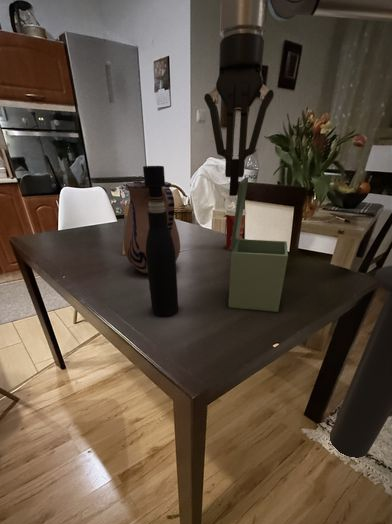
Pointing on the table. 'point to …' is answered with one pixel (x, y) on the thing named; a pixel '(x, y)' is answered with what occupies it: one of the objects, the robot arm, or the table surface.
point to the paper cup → (230, 223)
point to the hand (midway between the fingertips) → (233, 194)
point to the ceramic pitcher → (145, 223)
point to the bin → (257, 274)
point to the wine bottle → (160, 248)
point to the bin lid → (239, 212)
